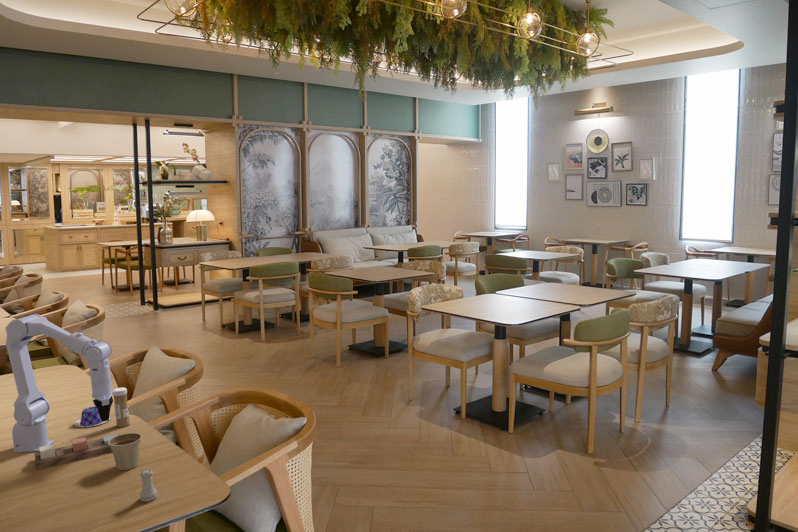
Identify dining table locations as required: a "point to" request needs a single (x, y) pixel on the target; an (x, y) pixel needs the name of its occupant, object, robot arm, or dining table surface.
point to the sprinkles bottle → (121, 407)
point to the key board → (72, 454)
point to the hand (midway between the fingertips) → (105, 420)
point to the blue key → (107, 439)
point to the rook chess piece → (147, 486)
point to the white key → (47, 451)
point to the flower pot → (126, 450)
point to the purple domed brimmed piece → (89, 417)
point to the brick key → (79, 444)
